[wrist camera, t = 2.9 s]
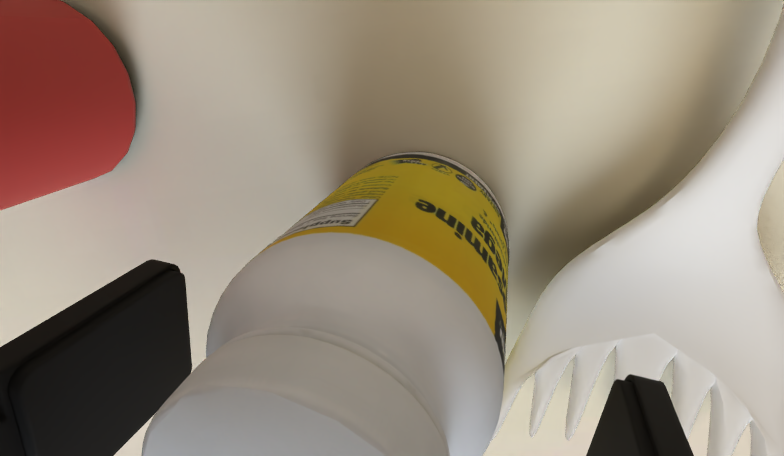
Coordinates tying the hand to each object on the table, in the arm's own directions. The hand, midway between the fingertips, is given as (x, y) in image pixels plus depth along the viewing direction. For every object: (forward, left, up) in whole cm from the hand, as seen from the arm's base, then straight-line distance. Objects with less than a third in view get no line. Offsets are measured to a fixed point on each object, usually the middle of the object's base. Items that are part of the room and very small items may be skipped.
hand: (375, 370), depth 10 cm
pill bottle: (0, 0, -8) cm, 8 cm away
